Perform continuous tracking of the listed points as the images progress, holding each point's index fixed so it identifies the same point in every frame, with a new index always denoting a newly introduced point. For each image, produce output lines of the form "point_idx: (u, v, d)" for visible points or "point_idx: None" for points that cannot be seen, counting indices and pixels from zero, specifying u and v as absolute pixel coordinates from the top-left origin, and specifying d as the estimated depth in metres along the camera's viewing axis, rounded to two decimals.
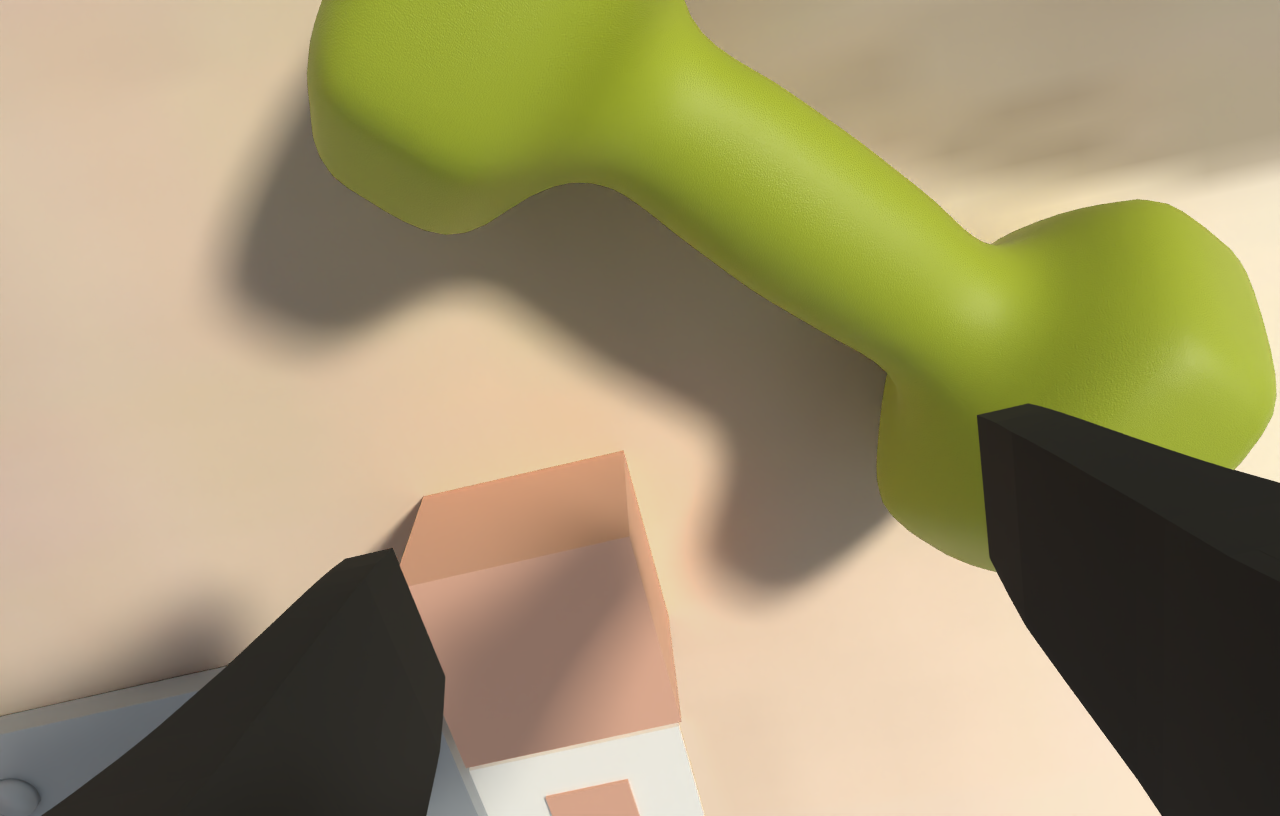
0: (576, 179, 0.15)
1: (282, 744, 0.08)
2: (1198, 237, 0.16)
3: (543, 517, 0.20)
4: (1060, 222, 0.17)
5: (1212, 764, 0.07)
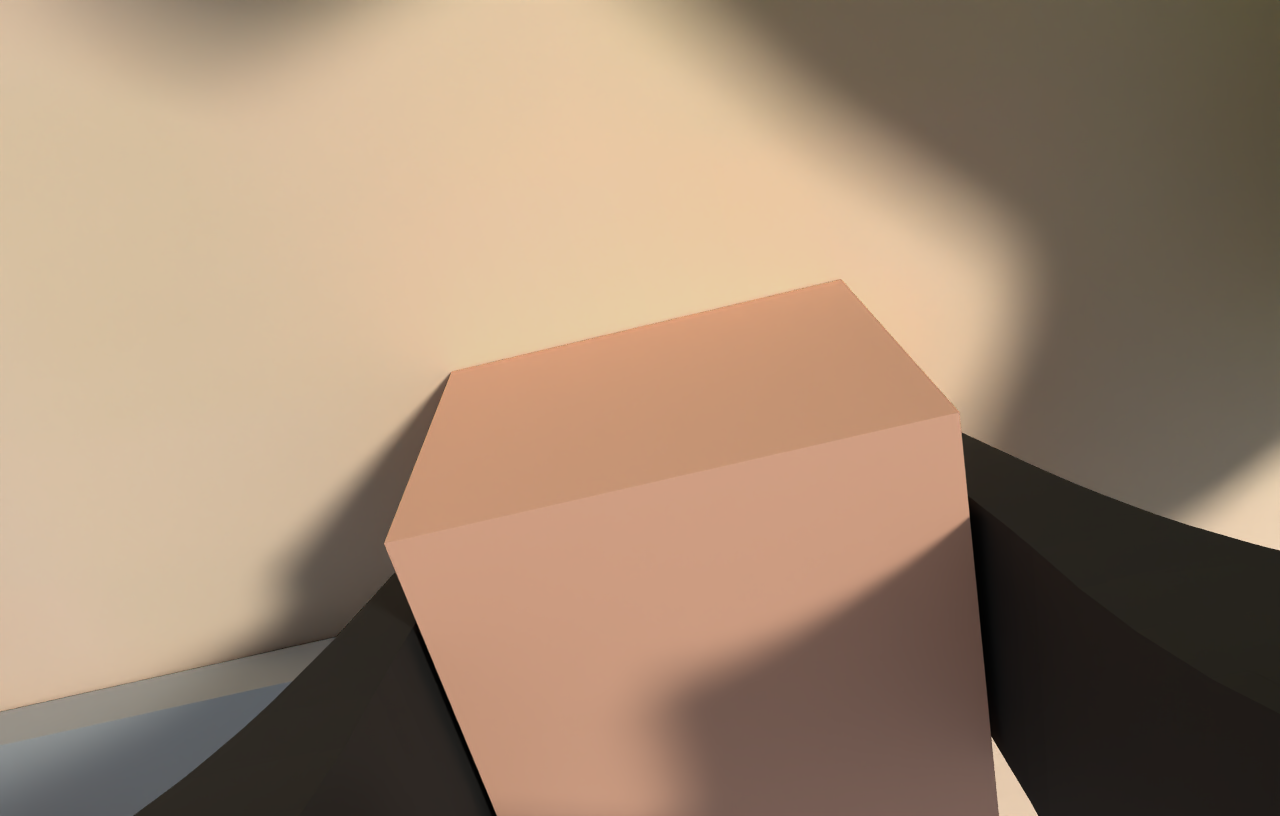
0: None
1: (397, 720, 0.08)
2: None
3: (718, 391, 0.09)
4: None
5: (1082, 790, 0.07)
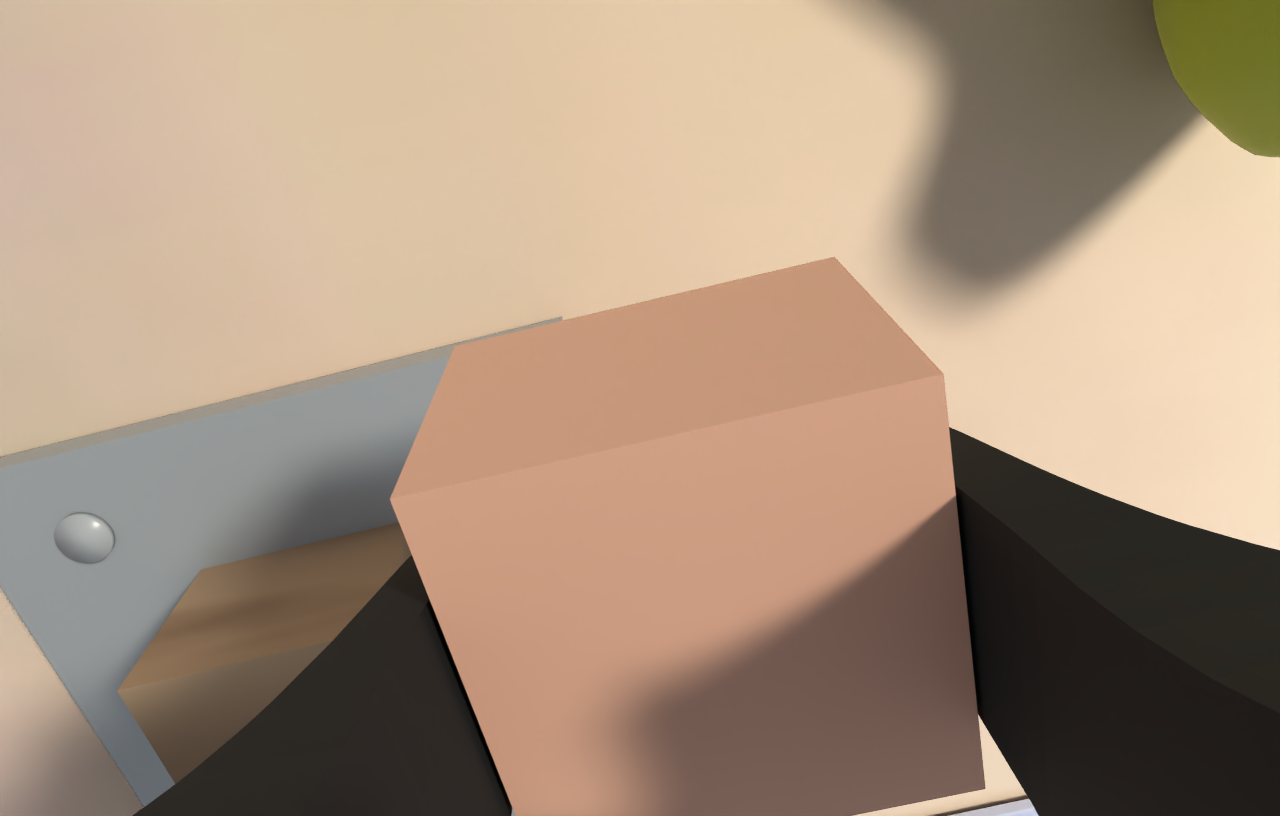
0: None
1: (397, 719, 0.08)
2: None
3: (712, 358, 0.09)
4: None
5: (1082, 790, 0.07)
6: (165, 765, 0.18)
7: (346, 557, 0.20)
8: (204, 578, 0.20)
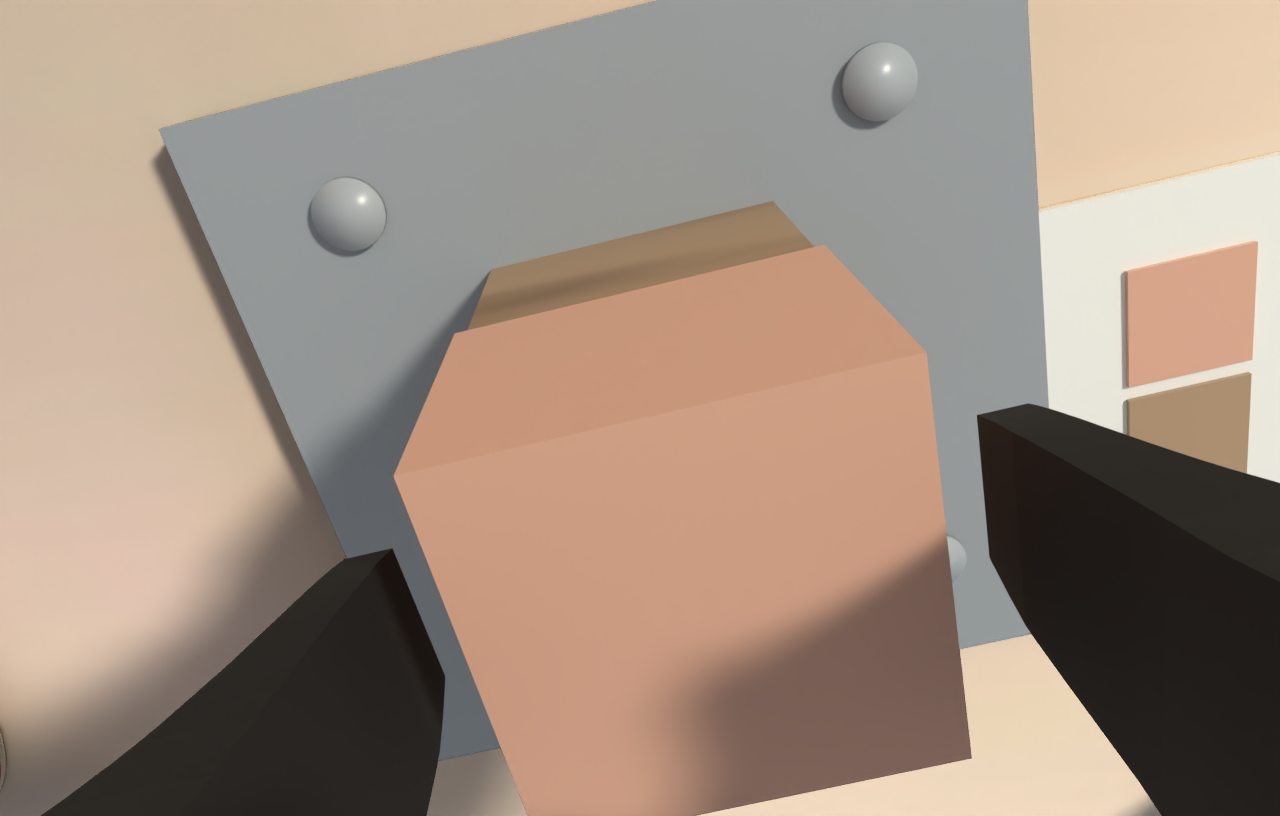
0: None
1: (282, 744, 0.08)
2: None
3: (704, 341, 0.10)
4: None
5: (1212, 764, 0.07)
6: None
7: (709, 231, 0.15)
8: (504, 272, 0.15)
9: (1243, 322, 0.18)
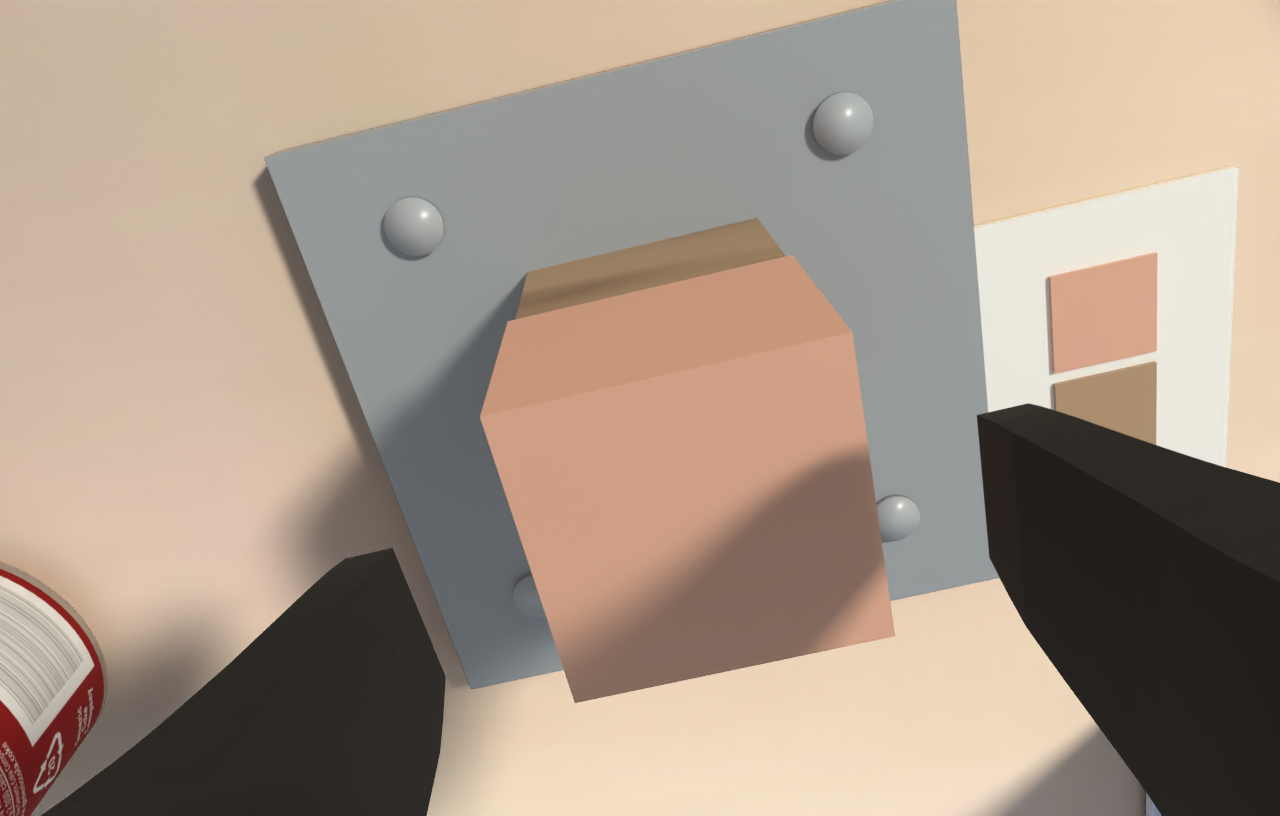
0: None
1: (283, 744, 0.08)
2: None
3: (699, 325, 0.13)
4: None
5: (1212, 764, 0.07)
6: None
7: (705, 242, 0.18)
8: (539, 274, 0.19)
9: (1148, 320, 0.21)
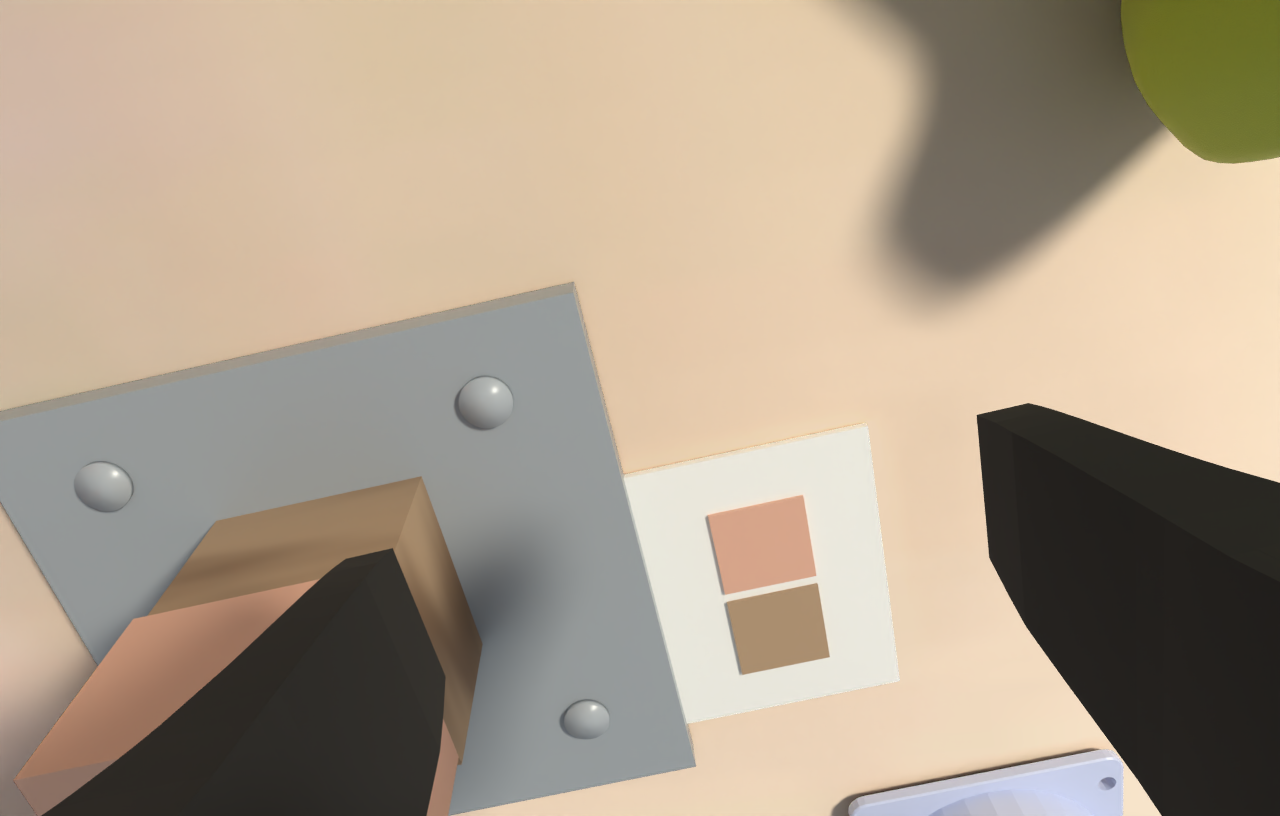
0: None
1: (283, 744, 0.08)
2: None
3: None
4: None
5: (1212, 764, 0.07)
6: None
7: (360, 509, 0.20)
8: (220, 528, 0.21)
9: (806, 549, 0.23)
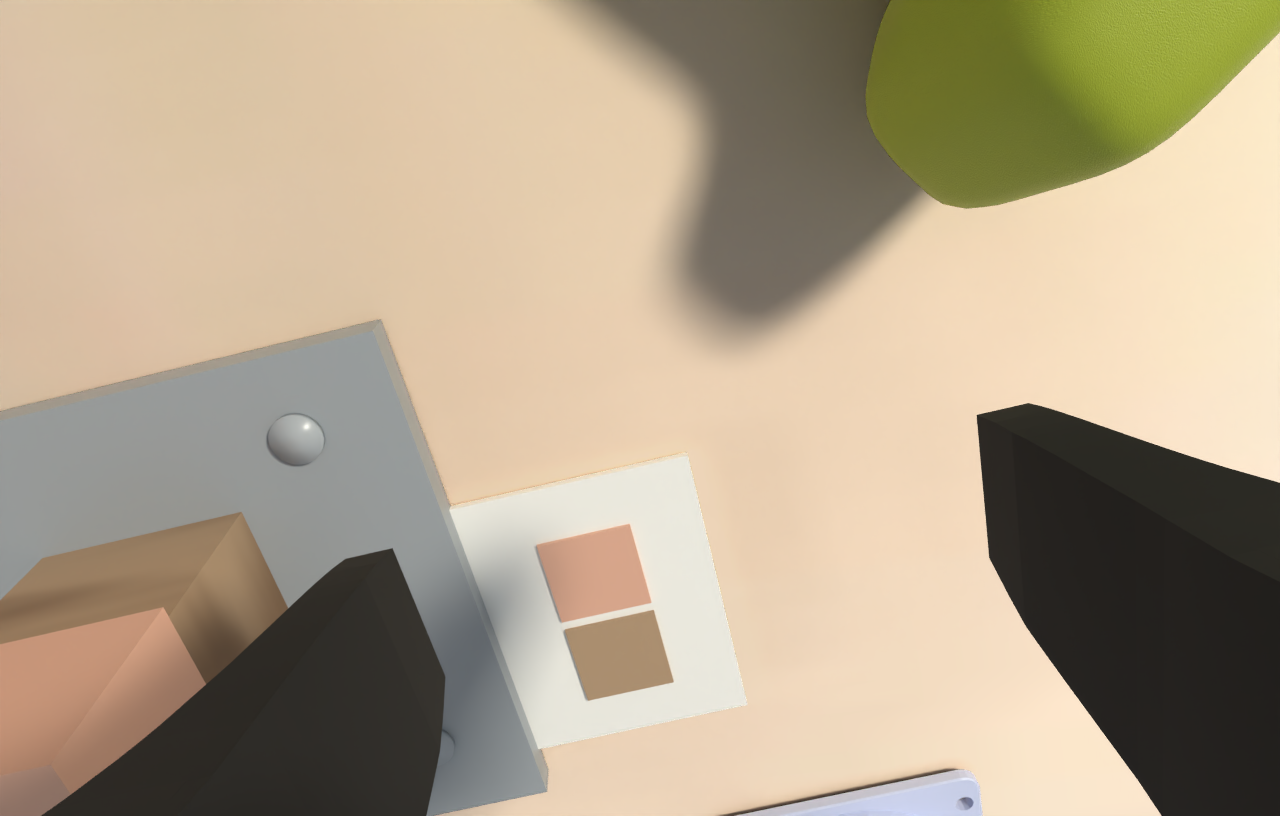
0: None
1: (283, 744, 0.08)
2: None
3: None
4: None
5: (1212, 764, 0.07)
6: None
7: (173, 546, 0.21)
8: (42, 566, 0.21)
9: (639, 577, 0.23)
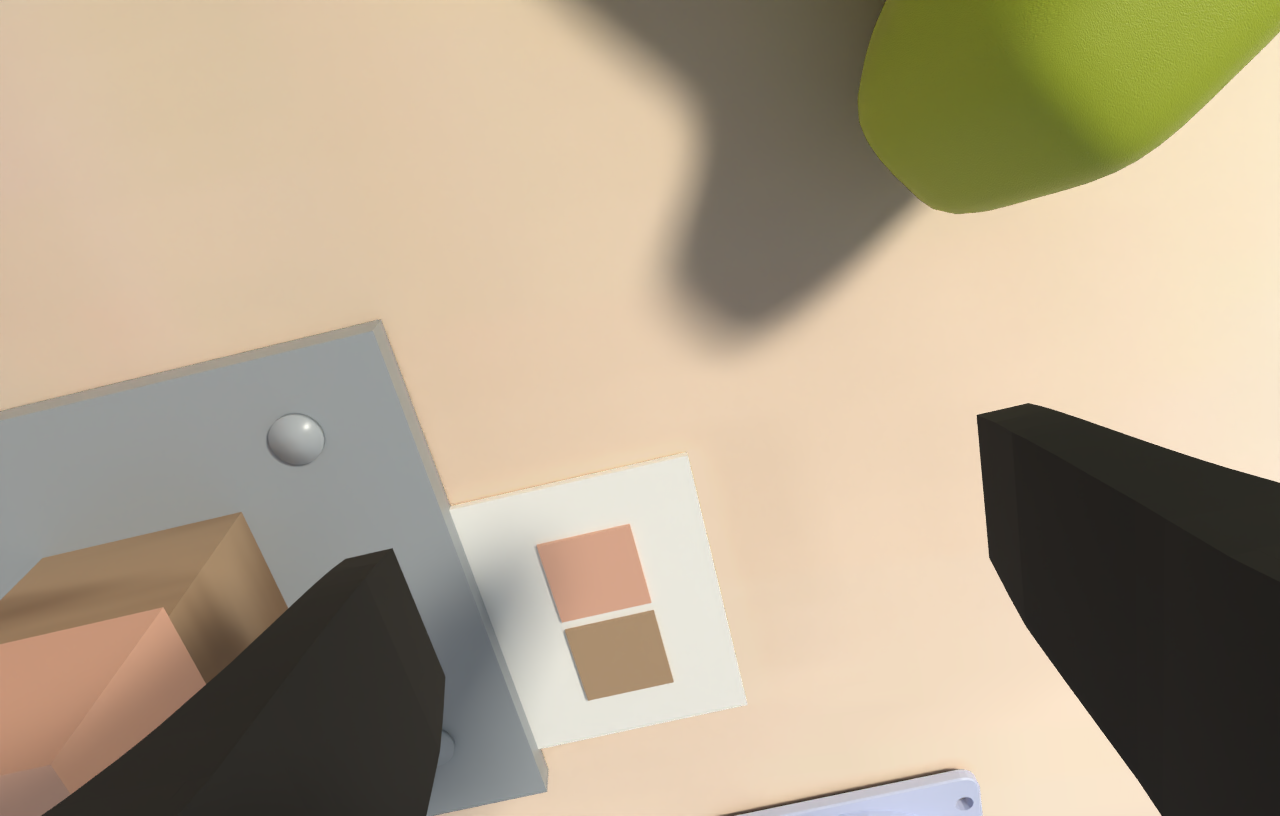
0: None
1: (283, 744, 0.08)
2: None
3: None
4: None
5: (1212, 764, 0.07)
6: None
7: (173, 546, 0.21)
8: (42, 566, 0.21)
9: (639, 577, 0.23)
